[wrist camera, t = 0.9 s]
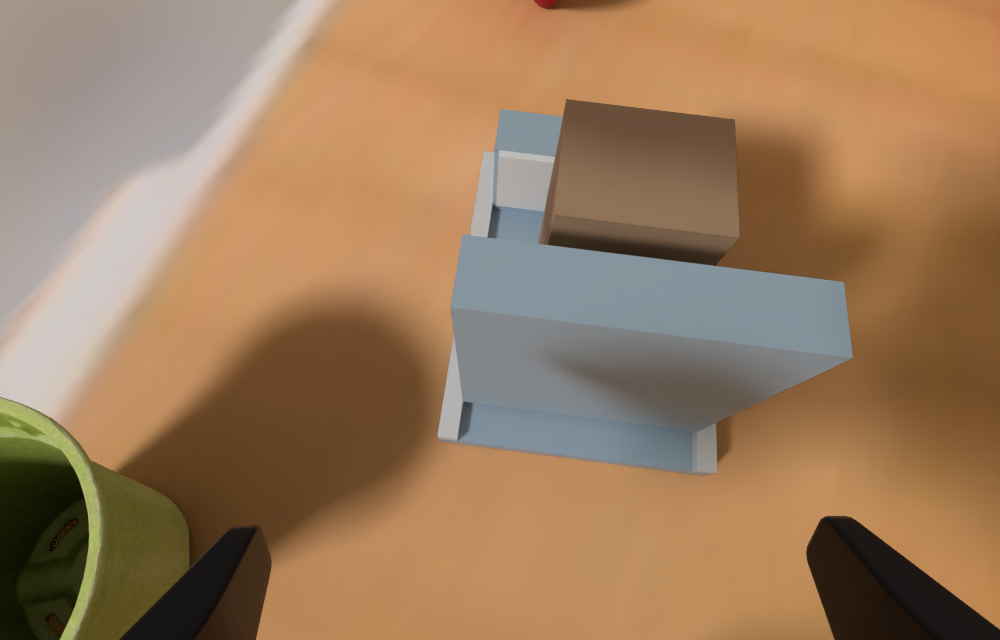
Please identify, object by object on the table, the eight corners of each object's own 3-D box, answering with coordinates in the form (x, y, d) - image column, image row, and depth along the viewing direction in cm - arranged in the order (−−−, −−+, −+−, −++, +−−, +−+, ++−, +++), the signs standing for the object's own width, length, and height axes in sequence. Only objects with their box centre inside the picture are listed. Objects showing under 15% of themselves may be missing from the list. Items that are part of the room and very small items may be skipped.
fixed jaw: (691, 239, 26) (731, 183, 22) (491, 214, 26) (493, 153, 22) (691, 198, 27) (729, 136, 23) (497, 174, 27) (500, 109, 23)
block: (639, 352, 24) (739, 237, 15) (526, 337, 24) (554, 214, 15) (642, 270, 26) (734, 119, 16) (535, 257, 26) (566, 99, 16)
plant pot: (110, 400, 23) (-84, 330, 15) (289, 518, 22) (178, 508, 14) (-76, 616, 20) (-440, 669, 12) (118, 769, 19) (-151, 944, 11)
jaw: (697, 431, 22) (852, 357, 13) (462, 401, 23) (450, 307, 13) (697, 377, 23) (843, 271, 14) (470, 348, 23) (464, 224, 14)
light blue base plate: (704, 475, 23) (717, 472, 22) (439, 441, 23) (437, 436, 22) (701, 194, 28) (711, 178, 27) (483, 167, 28) (483, 151, 27)
